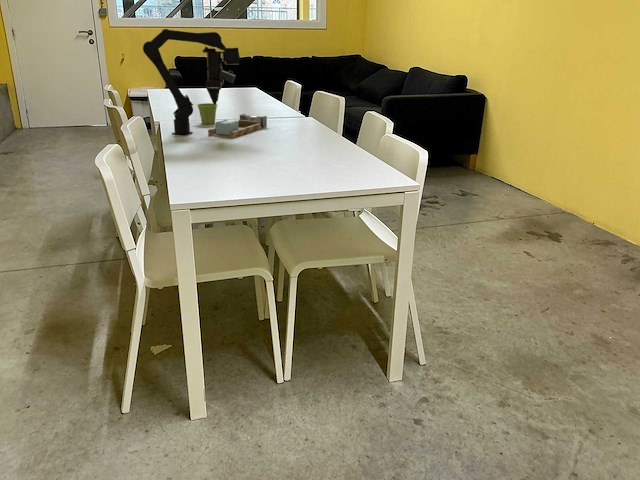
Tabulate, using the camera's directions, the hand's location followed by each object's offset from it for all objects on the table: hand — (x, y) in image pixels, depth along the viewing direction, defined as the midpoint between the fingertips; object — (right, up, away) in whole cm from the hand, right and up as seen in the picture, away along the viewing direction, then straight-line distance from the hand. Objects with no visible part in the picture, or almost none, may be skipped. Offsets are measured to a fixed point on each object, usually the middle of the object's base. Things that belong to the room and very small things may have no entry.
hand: (215, 102), depth 225 cm
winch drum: (+13, -5, +21) cm, 26 cm away
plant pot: (-9, -3, +25) cm, 27 cm away
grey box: (+5, -13, +2) cm, 13 cm away
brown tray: (+7, -11, +7) cm, 15 cm away
